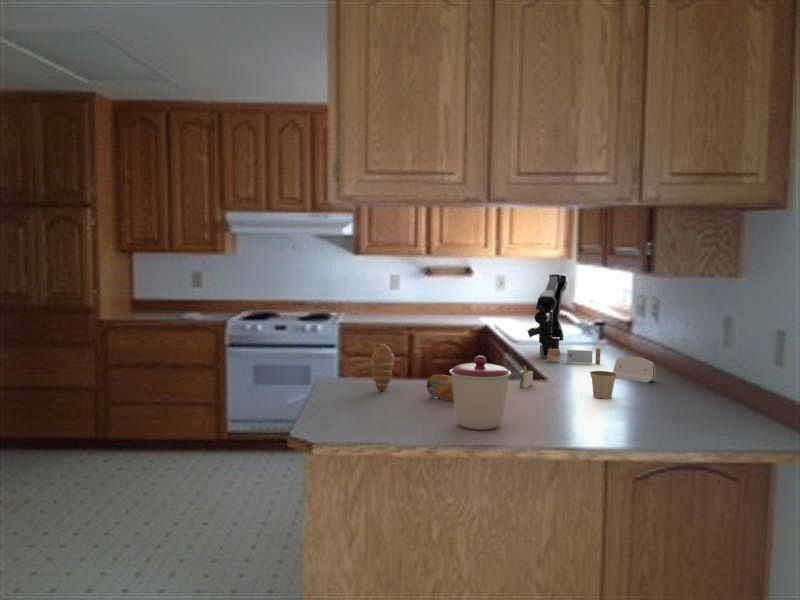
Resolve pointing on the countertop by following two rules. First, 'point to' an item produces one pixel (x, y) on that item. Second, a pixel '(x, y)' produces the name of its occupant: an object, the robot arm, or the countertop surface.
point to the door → (579, 356)
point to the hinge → (634, 369)
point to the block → (542, 351)
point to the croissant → (382, 365)
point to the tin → (440, 386)
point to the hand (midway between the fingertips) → (545, 354)
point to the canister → (479, 393)
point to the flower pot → (603, 383)
